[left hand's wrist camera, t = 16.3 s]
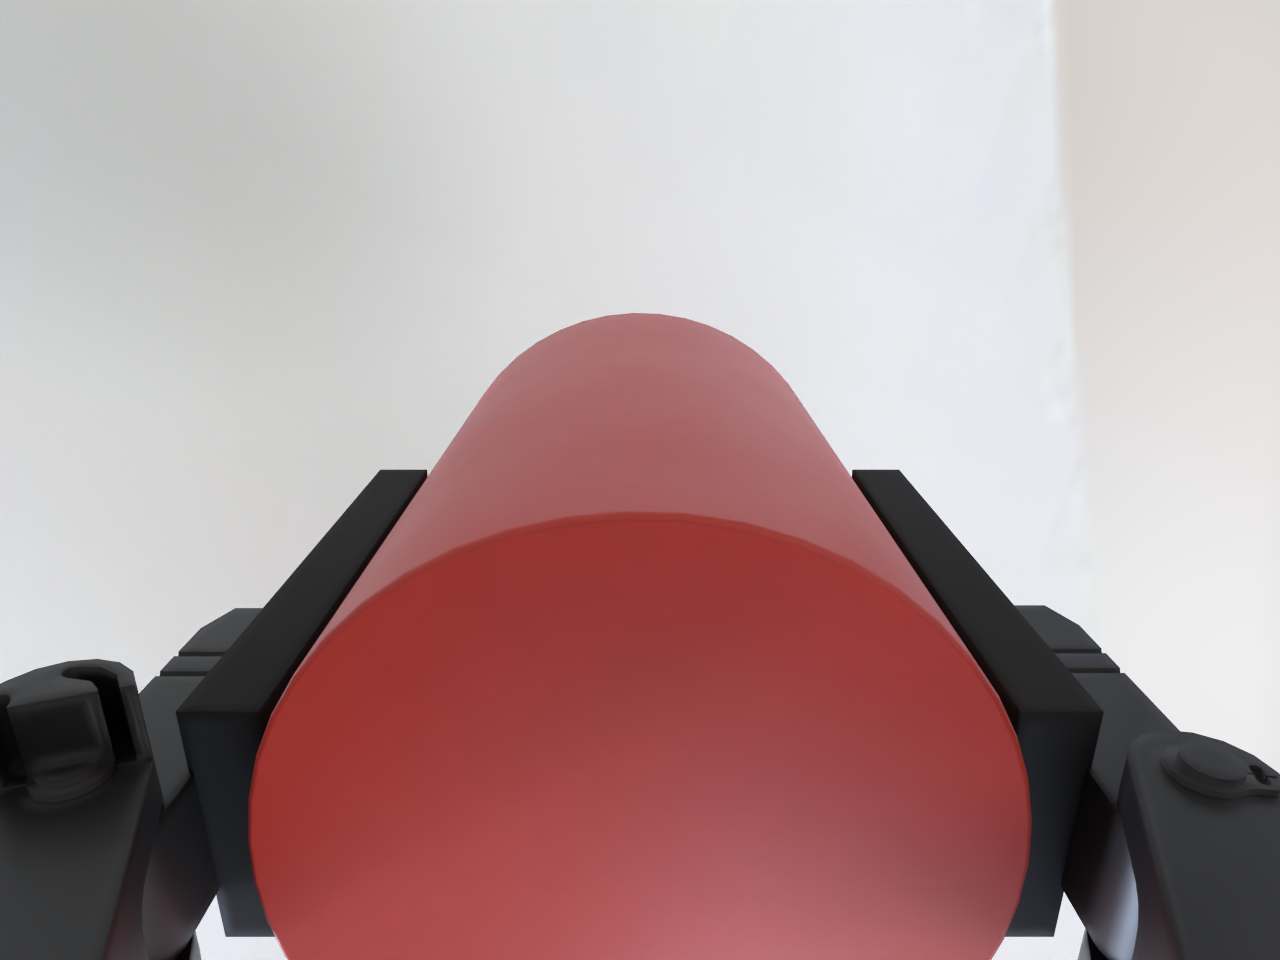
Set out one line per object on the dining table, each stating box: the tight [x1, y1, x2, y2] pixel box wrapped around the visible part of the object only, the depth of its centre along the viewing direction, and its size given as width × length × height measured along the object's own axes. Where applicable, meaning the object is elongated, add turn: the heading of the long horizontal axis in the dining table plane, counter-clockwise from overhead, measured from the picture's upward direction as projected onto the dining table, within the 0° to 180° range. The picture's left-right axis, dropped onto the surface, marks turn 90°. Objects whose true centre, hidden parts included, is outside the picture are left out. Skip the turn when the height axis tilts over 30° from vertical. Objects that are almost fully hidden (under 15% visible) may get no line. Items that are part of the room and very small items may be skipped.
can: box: [248, 313, 1032, 960], centre depth 12 cm, size 7×7×9 cm
